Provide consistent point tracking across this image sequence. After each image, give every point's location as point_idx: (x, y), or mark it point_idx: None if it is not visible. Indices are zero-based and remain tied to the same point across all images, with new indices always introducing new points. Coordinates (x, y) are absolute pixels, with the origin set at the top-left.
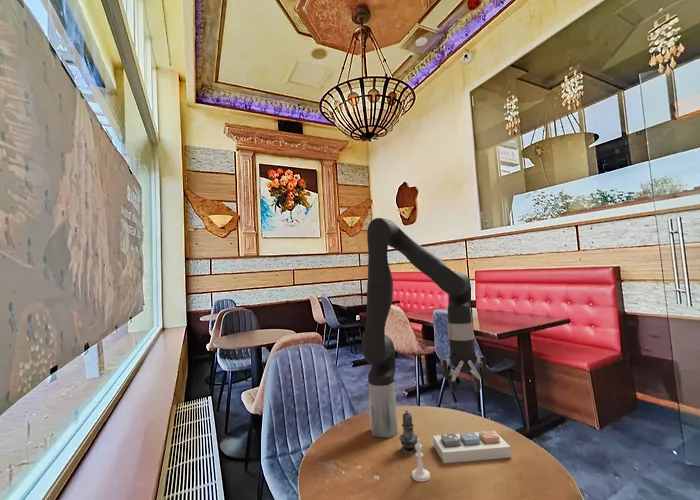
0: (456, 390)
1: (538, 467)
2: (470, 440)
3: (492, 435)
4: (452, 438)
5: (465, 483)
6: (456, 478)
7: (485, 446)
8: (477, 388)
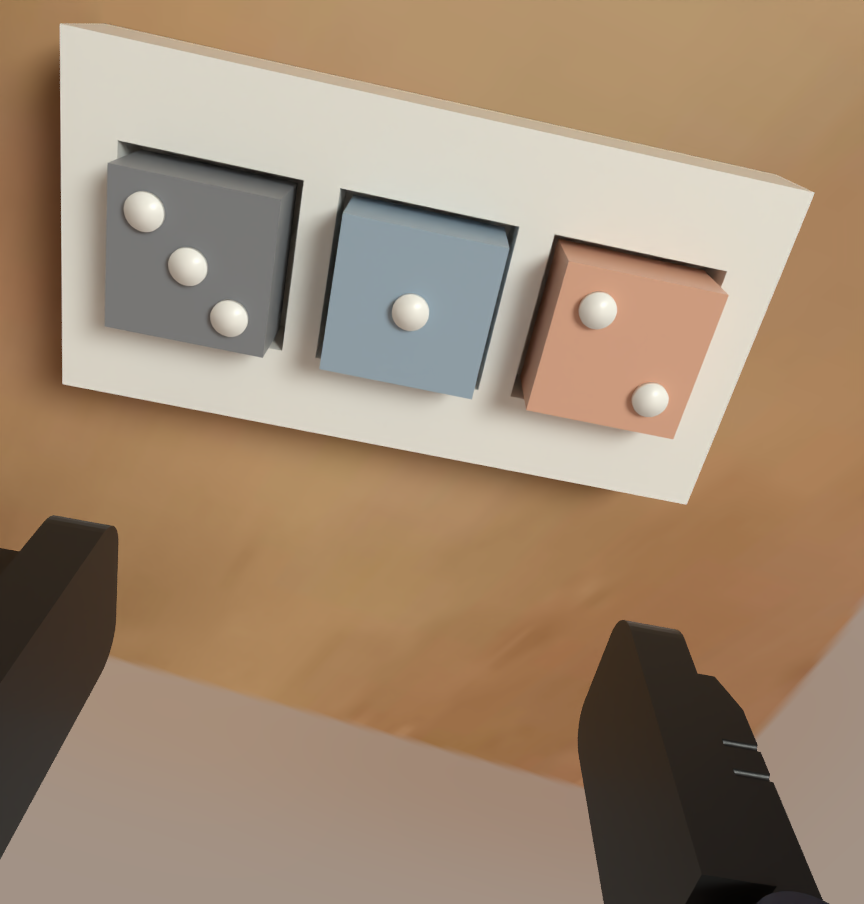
0: (74, 703)
1: (725, 607)
2: (374, 376)
3: (633, 399)
4: (204, 293)
5: (160, 587)
6: (124, 531)
7: (487, 430)
8: (595, 798)
